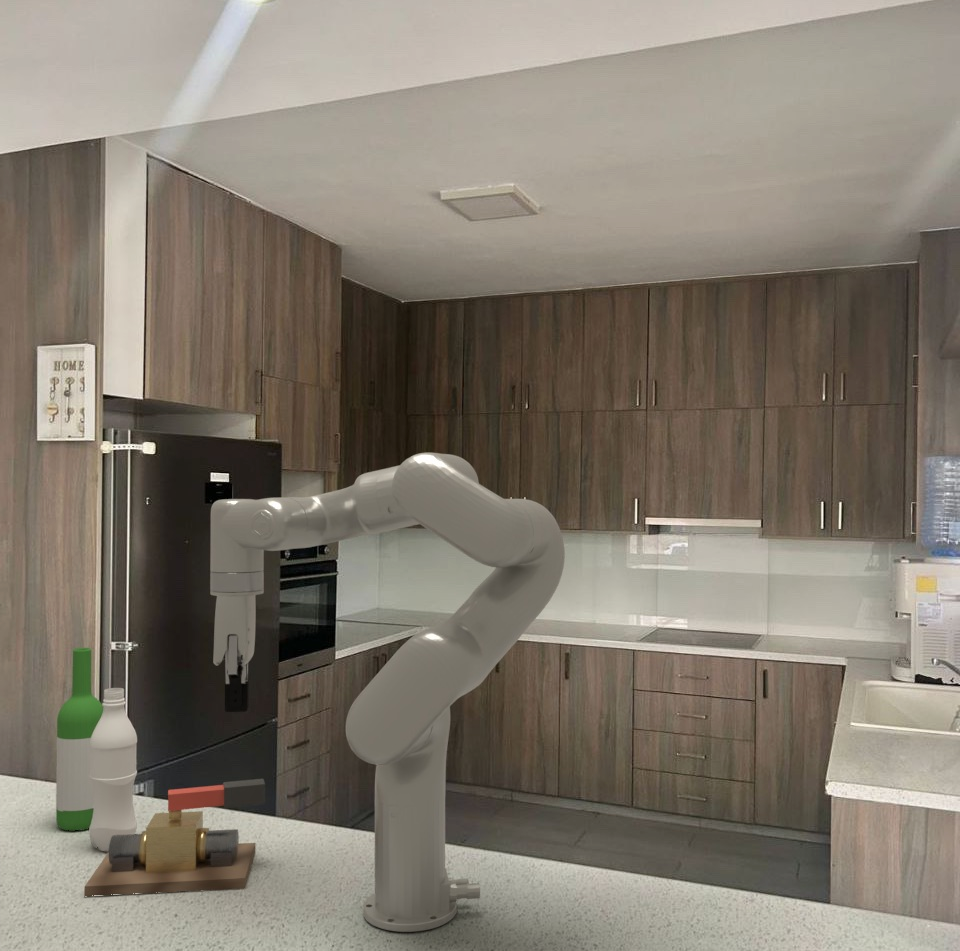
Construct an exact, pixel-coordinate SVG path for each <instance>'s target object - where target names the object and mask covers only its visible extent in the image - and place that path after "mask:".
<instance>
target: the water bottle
mask: <svg viewBox="0 0 960 951" xmlns="http://www.w3.org/2000/svg"><path fill="white" fill-rule="evenodd" d="M124 696H125V689H124V688H122V687H111V688H106V689H104V691H103V700H102V701H103V702H102V703H101V704H102V706H103V707H104V709H103V713H102V716H101V718H100V720H99V722H98V724H97V725H96V727H95V729H94V731H93V734H92V736H91V740H90V747H91V764H90V778H91V782H92V786H93V793H94V810H93V817H92V821H91V825H90V828H89V829H88V832H89V840H90V842H91V844H92V846H93V847H94V848H95V847H98V848H97V849H98V850H99V851H101V850H102V851H101V852H109V845H110V840H111V837H112V836H113V835H125V834H136V832H137V828H138V821H137V818H136V815H135V810H134V802H133V801H134V800H133V798H134V797H133V795H134V792H133V791H134V786H135V785H134V784H135V780H136V777H137V774H138V770H137V743H138V735H137V732H136V729H135V728H134V726H133V723H132V722H131V720H130V719H129V717H128V715H127V712H126V708H125V705H126V704H127V702H126V701H125V700H126V699H125V697H124Z"/></svg>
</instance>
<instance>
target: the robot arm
mask: <svg viewBox="0 0 960 951" xmlns="http://www.w3.org/2000/svg"><path fill="white" fill-rule="evenodd" d="M417 525H421V526H422V527H423V528H425V529H426V530H427V531H429V532H431V533H432V534H434V535H436V537H438V538H440V539H441V540H443V541H444V542H446V543H447V544H449V545H451V546H452V547H453V548H454V549H457V550H458V551H459V552H462V553H463V554H464V555H465V556H467V557H469V558H470V559H472V560H474V561H475V562H477V563H480V564H481V565H484V566H488V567H491V568H494V570H493V571H492V572H491V573H490V574H489V575H488V576H487V577H485V579H484V580H483V581H482V582H481V583H480V584H479V585H478V586H477V587H476V588H475V589H474V590H473V592H472V593H471V594H470V595H469V597H468V598H467V599H466V600H465V601H464V603H462V605H461V606H460V607H459V608H458V609H457V610H456V611H455V612H454V613H453V614H452V615H451V616H450V617H449V618H448V619H446V620H445V621H443V622H441V623H438V624H436V625H433V626H431V627H428V628H425V629H423V630H421V631H419V632H417V633H415V634H414V635H413V636H411V637H410V638H409V639H408V640H407V641H406V642H405V643H403V644H402V646H400V648H398V649H397V650H396V652H395V653H394V654H392V655H393V656H391V658H390V659H389V660H387V662H386V663H385V665H383V667H382V668H381V669H380V670H379V671H378V673H377V674H376V675H375V676H374V677H373V678H372V679H371V681H369V683H368V684H367V685H366V686H365V687H364V689H363V690H362V691H361V692H360V693H359V694H358V696H357V697H356V698H355V699H354V701H353V702H352V704H351V706H350V708H349V710H348V712H347V716H346V720H345V736H346V740H347V743H348V745H349V747H350V749H351V751H352V752H353V753H354V754H355V755H356V757H358V758H359V759H361V760H362V761H363V762H365V763H367V764H372V765H376V766H375V777H374V893H372V894H371V895H370V896H368V897H367V898H366V899H365V901H364V902H363V905H362V915H363V917H364V919H365V920H366V922H368V923H369V924H370V925H372V926H374V927H376V928H377V929H378V928H379V929H382V930H385V931H390V932H397V933H399V932H400V933H415V932H422V931H427V930H428V931H429V930H432V929H436V928H438V927H440V926H443V925H445V924H447V923H449V922H450V921H451V920H452V919H453V918H454V917H455V916H456V914H457V913H458V912H457V910H458V908H457V907H458V905H457V904H458V903H457V902H458V900H461V899H463V900H464V899H466V900H473V899H474V900H475V899H477V900H478V899H481V886H480V883H479V882H478V883H477V882H476V883H475V882H474V883H472V882H471V883H470V881H469V878H468V877H467V878H457V879H452V877H449V876H448V872H447V868H446V772H447V771H446V770H447V768H446V767H447V751H448V745H449V744H448V743H449V736H450V728H451V706H452V705H453V704H454V703H455V702H456V701H457V700H458V699H460V698H461V697H463V696H465V695H466V694H468V693H470V692H471V691H473V690H475V689H476V688H477V687H479V686H480V685H481V684H482V683H483V682H484V681H485V679H487V677H488V676H489V674H490V673H491V672H492V670H493V669H494V668H495V667H496V666H497V665H498V663H499V662H500V661H501V660H502V659H503V657H505V655H506V654H507V653H508V652H509V650H510V649H511V648H512V647H513V646H515V644H516V643H517V642H518V640H519V639H520V638H521V637H522V635H523V634H524V633H525V632H526V630H527V629H528V628H529V627H530V626H531V624H533V622H534V621H535V620H537V618H538V617H539V616H540V614H541V613H542V612H543V610H544V609H545V608H546V606H547V605H548V604H549V602H550V601H551V599H552V597H553V596H554V594H555V593H556V590H557V588H558V586H559V584H560V582H561V578H562V576H563V572H564V566H565V555H566V553H565V544H564V538H563V535H562V534H563V533H562V532H561V529H560V526H559V524H558V522H557V520H556V518H555V516H553V514H552V513H551V512H550V511H549V509H548V508H546V507H545V506H544V505H542V504H540V503H539V502H536V501H534V500H531V499H527V498H526V499H525V498H503V497H502V496H500V495H498V494H496V493H495V492H494V491H491V490H490V489H488V488H486V487H485V486H483V485H482V484H480V483H479V478H478V475H477V472H476V470H475V468H474V467H473V465H471V464H470V462H469V461H467V460H465V459H464V458H462V457H461V456H458V455H455V454H450V453H448V454H447V453H439V452H421V453H416V454H413V455H412V456H410V457H408V458H406V459H405V460H404V461H403V462H402V463H401V464H400V465H396V466H391V467H386V468H383V469H378V470H377V469H376V470H374V471H369V472H364V473H363V474H361V475H360V474H359V476H357V478H356V479H355V481H354V483H353V484H352V485H350V486H348V487H345V488H342V489H341V488H340V489H336V490H333V491H328V492H325V493H321V494H316V495H311V496H306V497H305V496H304V497H303V496H302V497H300V496H297V497H296V496H288V497H286V496H284V497H283V496H282V497H267V498H266V497H265V498H260V499H252V498H228V499H227V498H225V499H218V500H216V501H214V502H213V504H212V505H211V508H210V563H209V564H210V565H209V566H210V568H209V569H210V572H209V573H210V575H209V576H210V580H209V581H210V582H209V584H210V586H209V587H210V588H209V589H210V595H211V596H215V597H216V601H215V614H214V628H213V629H214V631H213V632H214V633H213V635H214V636H213V657H212V658H213V660H212V661H213V664H214V665H215V666H219V665H221V663H222V662H223V661H225V664H224V665H225V666H224V667H225V670H224V671H225V684H224V711H225V712H226V713H239V712H241V713H242V712H245V713H246V712H247V711H248V710H249V707H250V701H249V700H250V695H249V694H250V683H249V681H248V679H249V662H250V661H251V660H252V658H253V656H254V653H255V643H256V622H257V621H256V618H257V617H256V614H257V613H256V611H257V610H256V609H257V608H256V606H257V605H256V604H257V603H256V596H257V595H258V596H259V595H262V594H265V593H264V592H265V591H264V590H265V589H264V586H265V585H264V584H265V582H264V577H265V576H264V575H265V574H264V569H265V568H264V564H265V562H264V561H265V560H264V557H265V556H264V555H265V551H269V552H275V551H276V552H277V551H287V550H293V549H296V550H297V549H306V548H312V547H313V548H314V547H317V546H323V545H327V544H331V543H332V544H333V543H335V542H340V541H346V540H350V539H354V538H358V537H363V536H373V535H377V534H381V533H386V532H390V531H394V530H399V529H403V528H404V529H405V528H408V527H409V528H410V527H413V526H417Z"/></svg>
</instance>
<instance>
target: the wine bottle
mask: <svg viewBox="0 0 960 951" xmlns="http://www.w3.org/2000/svg"><path fill="white" fill-rule="evenodd" d="M71 684H72V689H71V690H72V691H71V692H72V693H71V695H70V696H71V697H69V698H68V699H67V700H66V701H65V702H64V703H63V705H61V707H60V710H59V712H58V714H57V721H56V722H57V723H56V724H57V725H56V729H57V730H56V788H55V791H56V794H55V795H56V796H55V797H56V798H55V799H56V800H55V802H56V805H55V806H56V808H55V809H56V810H55V811H56V814H55V816H56V817H55V820H56V825H57V827H58V828H59V829H61V830H65V831H68V830H69V831H71V832H72V831H73V832H75V830H79V831H83V830H84V829H86V830H89V829H88V828H90V825H91V821H92V817H93V810H94V793H93V786H92V782H91V778H90V764H91V747H90V740H91V736H92V734H93V731H94V729H95V727H96V725H97V724H98V722H99V720H100V718H101V716H102V713H103V709H104V706H102V703H101V700H99V699H98V698H96V697H95V696H94V695H93V694H92V693H93V692H92V648H90V647H77V648H74V649H73V650H72V683H71Z"/></svg>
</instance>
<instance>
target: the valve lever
mask: <svg viewBox="0 0 960 951" xmlns="http://www.w3.org/2000/svg"><path fill="white" fill-rule="evenodd" d="M167 795H168V796H167V797H168V798H167V800H168V801H167V805H168V806H167V812H168V813H169V819H179V818H181V814H182V812H183V811H184V810H191V809H204V808H214V807H222V806H223V809H229V808H239V807H249V806H251V807H252V806H260V805H266V782H265V780H264V778H256V779H255V778H254V779H244V780H243V779H242V780H233V781H223V782H222V784H218V785H208V786H197V787H187V788H186V787H185V788H175V789H168V791H167Z"/></svg>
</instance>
